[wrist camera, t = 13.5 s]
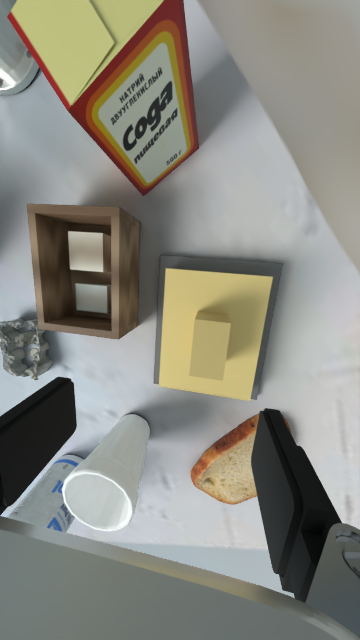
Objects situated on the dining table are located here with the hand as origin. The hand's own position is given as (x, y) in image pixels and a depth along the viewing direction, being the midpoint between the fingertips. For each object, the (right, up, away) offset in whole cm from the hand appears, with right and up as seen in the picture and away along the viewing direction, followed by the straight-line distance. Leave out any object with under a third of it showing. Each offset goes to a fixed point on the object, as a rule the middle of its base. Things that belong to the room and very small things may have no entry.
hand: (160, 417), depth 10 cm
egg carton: (-27, 0, +28) cm, 39 cm away
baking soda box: (-2, +28, +18) cm, 33 cm away
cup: (-8, -16, +28) cm, 33 cm away
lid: (+6, +3, +21) cm, 22 cm away
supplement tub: (-22, -28, +34) cm, 49 cm away
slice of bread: (+11, -19, +27) cm, 35 cm away
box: (-11, +12, +22) cm, 28 cm away
